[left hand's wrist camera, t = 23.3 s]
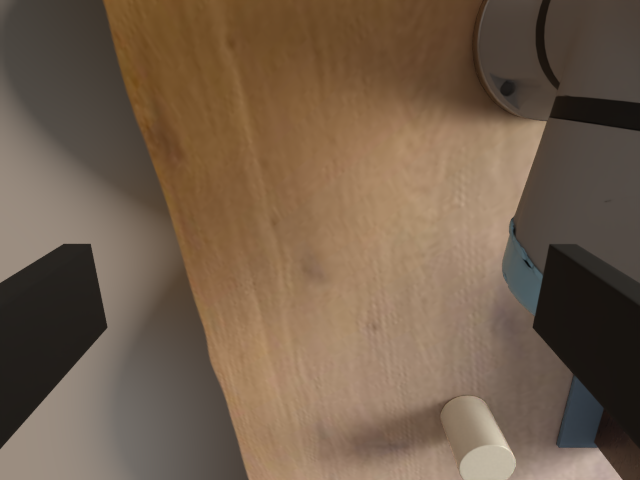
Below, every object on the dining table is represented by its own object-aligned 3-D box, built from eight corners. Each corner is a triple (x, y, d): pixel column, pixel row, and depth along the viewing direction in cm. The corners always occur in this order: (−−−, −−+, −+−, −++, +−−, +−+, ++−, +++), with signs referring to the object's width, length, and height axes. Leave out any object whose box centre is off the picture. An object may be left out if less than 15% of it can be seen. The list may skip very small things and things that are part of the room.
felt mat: (604, 252, 47) (608, 254, 47) (729, 252, 47) (734, 254, 47) (556, 444, 57) (558, 447, 56) (659, 444, 57) (663, 447, 56)
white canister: (442, 395, 54) (462, 445, 46) (492, 395, 54) (520, 445, 46) (437, 433, 56) (456, 487, 49) (485, 433, 56) (511, 487, 49)
